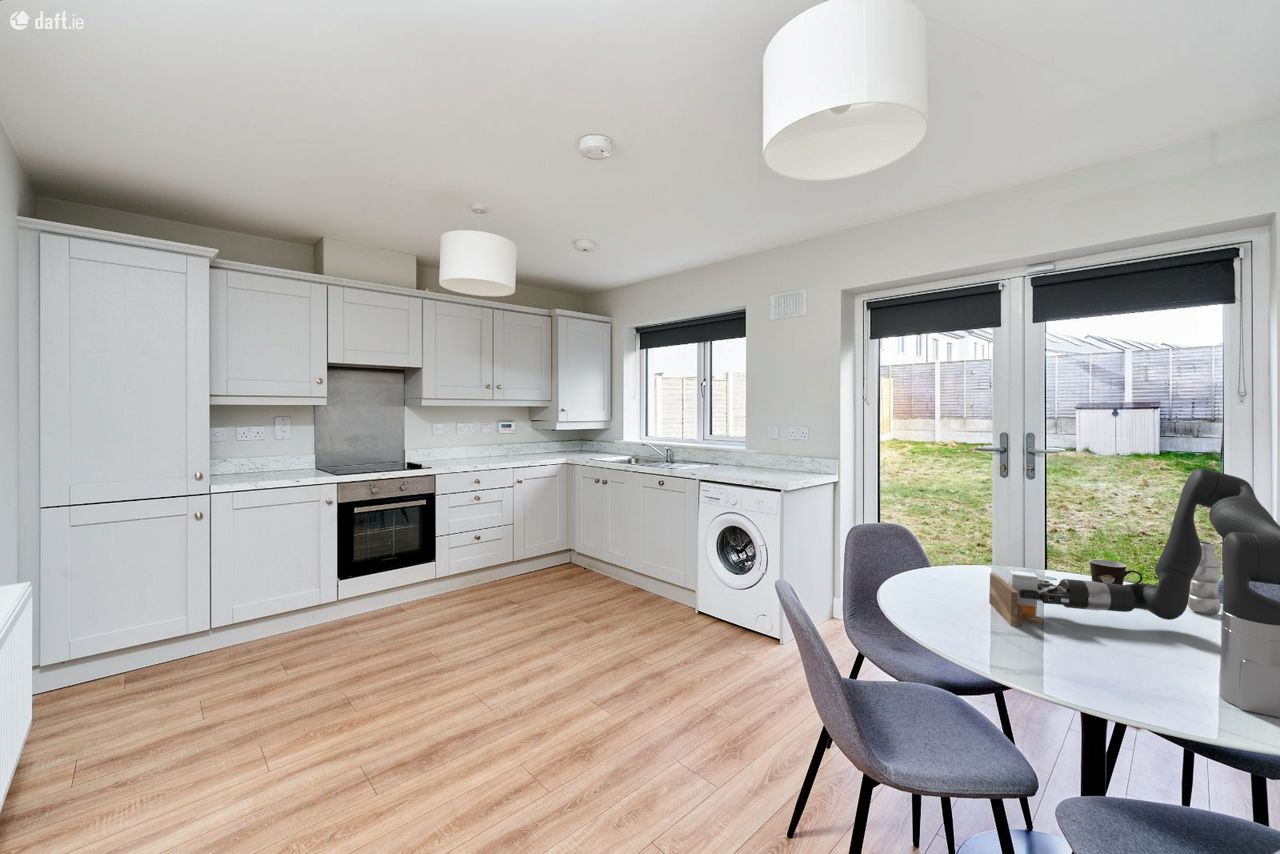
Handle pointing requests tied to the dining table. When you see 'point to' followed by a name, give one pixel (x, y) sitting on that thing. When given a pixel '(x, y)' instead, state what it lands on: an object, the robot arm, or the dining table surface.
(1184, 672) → the dining table surface
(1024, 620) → the wooden stand
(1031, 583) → the skincare box
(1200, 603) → the plastic bottle
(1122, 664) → the dining table surface
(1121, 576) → the coffee mug
